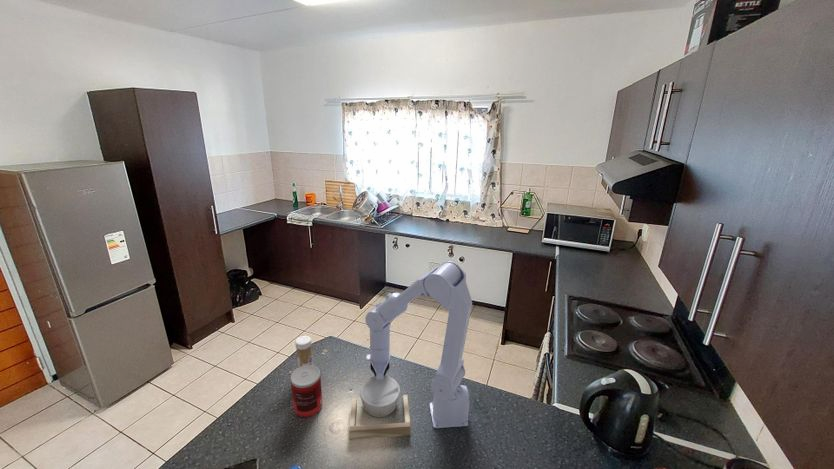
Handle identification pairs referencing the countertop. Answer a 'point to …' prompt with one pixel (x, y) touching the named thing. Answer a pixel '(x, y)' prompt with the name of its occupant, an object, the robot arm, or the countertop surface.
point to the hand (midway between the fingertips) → (380, 381)
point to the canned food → (306, 390)
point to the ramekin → (379, 396)
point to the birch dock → (379, 425)
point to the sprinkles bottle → (304, 351)
